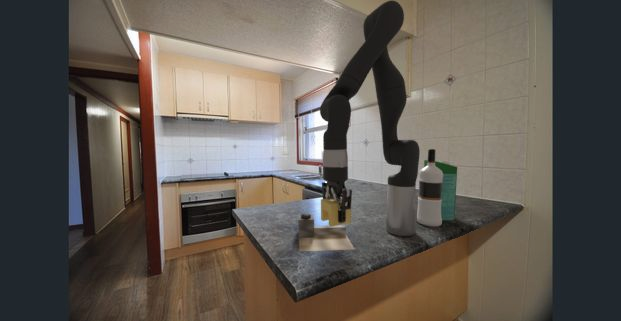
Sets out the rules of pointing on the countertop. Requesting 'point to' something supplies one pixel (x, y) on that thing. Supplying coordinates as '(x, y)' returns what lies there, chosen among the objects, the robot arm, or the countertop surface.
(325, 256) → the countertop surface
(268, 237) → the countertop surface
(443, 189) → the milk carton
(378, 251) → the countertop surface
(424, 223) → the vodka
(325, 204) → the yellow cube with hole
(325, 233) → the peg board base
